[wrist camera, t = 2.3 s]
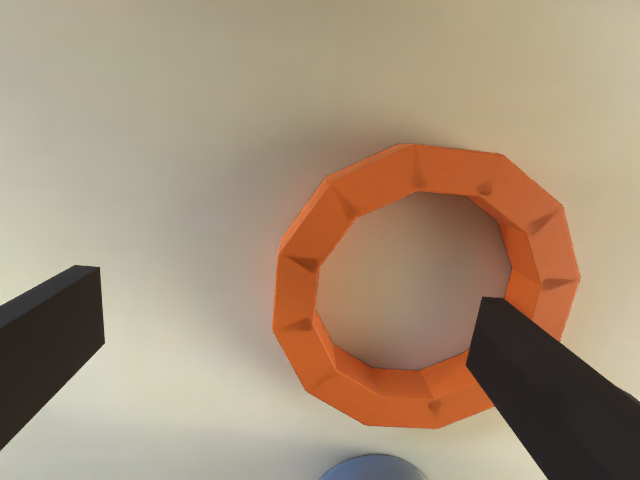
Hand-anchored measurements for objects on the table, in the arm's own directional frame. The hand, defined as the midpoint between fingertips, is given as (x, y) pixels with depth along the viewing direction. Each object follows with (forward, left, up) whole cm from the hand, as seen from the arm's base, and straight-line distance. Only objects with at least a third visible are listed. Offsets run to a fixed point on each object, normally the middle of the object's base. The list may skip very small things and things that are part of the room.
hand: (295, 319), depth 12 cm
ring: (0, +5, -4) cm, 6 cm away
